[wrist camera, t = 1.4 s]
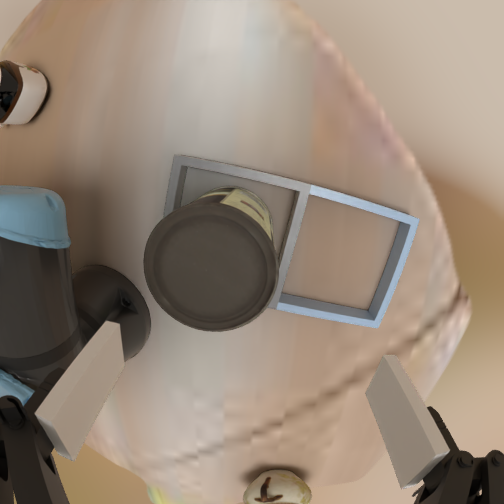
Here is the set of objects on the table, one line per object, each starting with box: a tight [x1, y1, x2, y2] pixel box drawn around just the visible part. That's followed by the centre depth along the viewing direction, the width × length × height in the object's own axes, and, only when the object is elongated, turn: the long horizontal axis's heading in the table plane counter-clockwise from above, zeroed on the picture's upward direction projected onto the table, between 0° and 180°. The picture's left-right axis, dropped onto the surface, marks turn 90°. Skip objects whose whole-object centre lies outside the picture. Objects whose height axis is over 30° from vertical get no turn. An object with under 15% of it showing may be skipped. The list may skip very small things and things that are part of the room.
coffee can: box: [144, 186, 279, 332], centre depth 28 cm, size 10×10×14 cm
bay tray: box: [163, 155, 420, 328], centre depth 33 cm, size 29×15×3 cm, turn 77°
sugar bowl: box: [243, 470, 312, 504], centre depth 44 cm, size 20×15×15 cm
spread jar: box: [0, 60, 48, 128], centre depth 24 cm, size 12×11×12 cm
